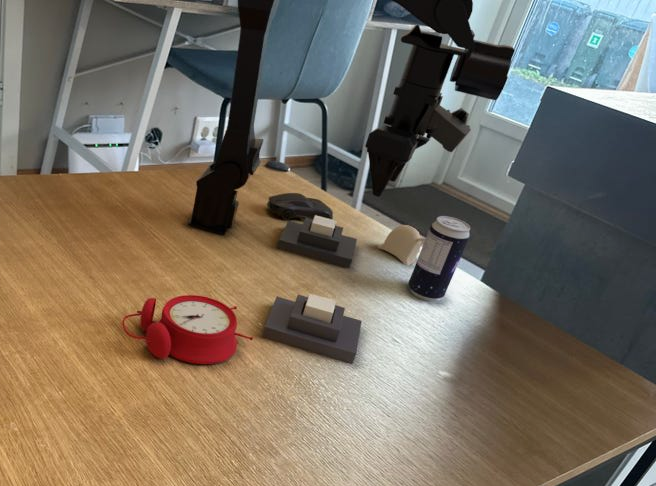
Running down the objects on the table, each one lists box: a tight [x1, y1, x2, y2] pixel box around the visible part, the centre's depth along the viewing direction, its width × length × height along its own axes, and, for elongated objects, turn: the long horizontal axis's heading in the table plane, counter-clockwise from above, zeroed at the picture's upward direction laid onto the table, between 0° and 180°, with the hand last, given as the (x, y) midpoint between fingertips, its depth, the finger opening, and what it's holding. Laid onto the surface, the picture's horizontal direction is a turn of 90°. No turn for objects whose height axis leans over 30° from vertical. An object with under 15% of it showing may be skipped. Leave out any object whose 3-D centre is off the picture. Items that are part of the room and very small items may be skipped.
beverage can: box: [407, 215, 471, 302], centre depth 106 cm, size 6×6×12 cm
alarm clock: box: [121, 294, 254, 365], centre depth 86 cm, size 10×6×15 cm
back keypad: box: [276, 218, 358, 270], centre depth 116 cm, size 12×9×4 cm
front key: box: [303, 293, 337, 323], centre depth 92 cm, size 4×4×2 cm
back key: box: [310, 215, 337, 237], centre depth 115 cm, size 4×4×2 cm
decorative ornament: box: [377, 224, 426, 266], centre depth 118 cm, size 4×8×5 cm, turn 32°
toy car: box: [266, 192, 334, 222], centre depth 127 cm, size 6×12×4 cm, turn 99°
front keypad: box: [261, 294, 363, 365], centre depth 93 cm, size 12×9×4 cm
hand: (384, 188), depth 108 cm, fingers open, 9 cm apart
